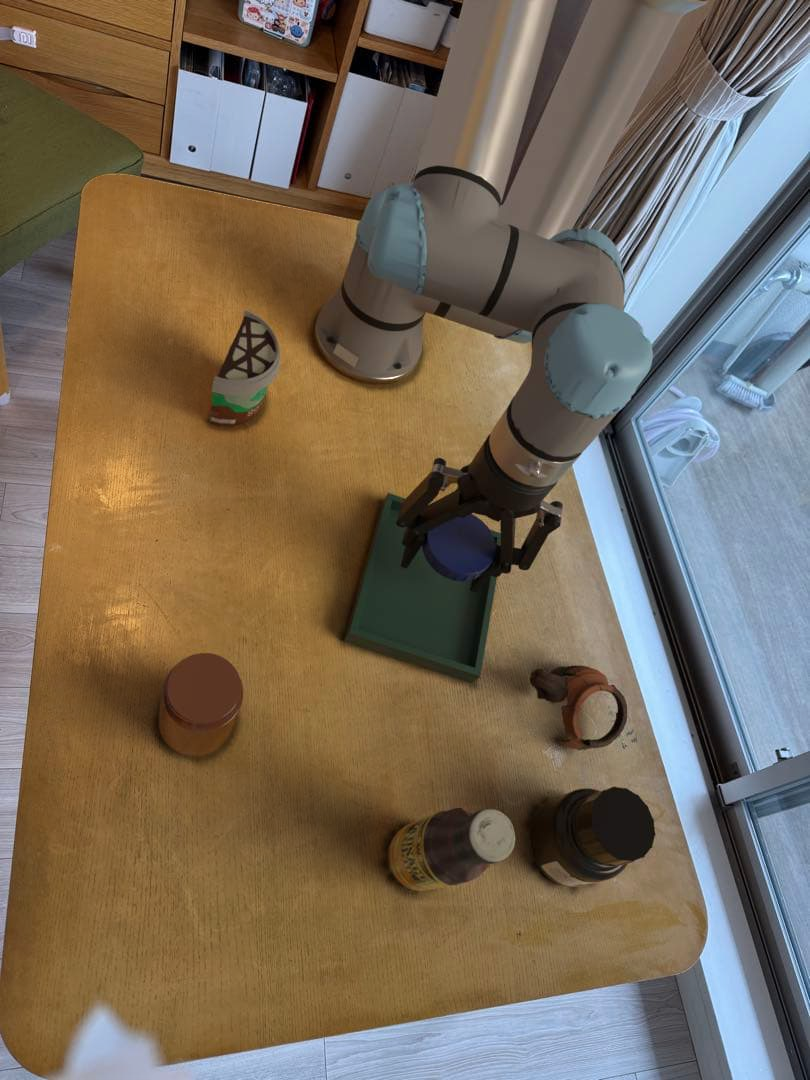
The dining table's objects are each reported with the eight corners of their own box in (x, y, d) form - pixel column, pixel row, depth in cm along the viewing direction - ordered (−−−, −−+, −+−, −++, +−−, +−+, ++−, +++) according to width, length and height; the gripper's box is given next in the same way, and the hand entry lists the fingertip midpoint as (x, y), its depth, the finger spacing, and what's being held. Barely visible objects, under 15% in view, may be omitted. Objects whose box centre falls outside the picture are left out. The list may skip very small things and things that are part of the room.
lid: (483, 592, 82) (490, 584, 81) (414, 567, 81) (420, 559, 80) (494, 532, 87) (501, 523, 85) (429, 508, 85) (434, 499, 84)
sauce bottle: (382, 827, 78) (449, 786, 61) (440, 824, 80) (520, 784, 63) (386, 898, 75) (459, 875, 58) (447, 894, 77) (533, 870, 60)
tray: (382, 503, 97) (387, 492, 95) (496, 543, 99) (504, 534, 97) (343, 641, 86) (348, 632, 84) (472, 683, 89) (480, 676, 86)
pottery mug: (601, 676, 95) (646, 691, 87) (571, 748, 94) (614, 769, 86) (525, 638, 90) (565, 650, 83) (493, 714, 89) (531, 733, 82)
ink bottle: (537, 897, 79) (595, 885, 69) (513, 808, 83) (565, 785, 73) (616, 876, 83) (682, 861, 73) (589, 792, 86) (648, 767, 76)
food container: (254, 449, 95) (266, 398, 87) (205, 432, 94) (212, 379, 86) (282, 378, 102) (295, 325, 93) (236, 362, 101) (246, 306, 92)
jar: (174, 676, 79) (179, 638, 70) (242, 697, 80) (256, 662, 71) (147, 744, 75) (149, 712, 66) (218, 765, 76) (230, 737, 67)
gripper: (409, 447, 66) (347, 567, 84) (626, 527, 69) (519, 626, 87) (426, 385, 70) (363, 513, 89) (629, 463, 73) (526, 571, 92)
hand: (440, 569), depth 88 cm, fingers closed on lid, 8 cm apart
